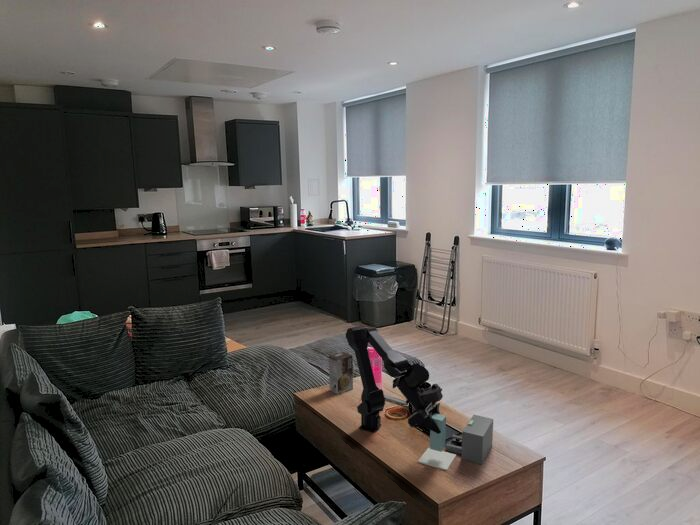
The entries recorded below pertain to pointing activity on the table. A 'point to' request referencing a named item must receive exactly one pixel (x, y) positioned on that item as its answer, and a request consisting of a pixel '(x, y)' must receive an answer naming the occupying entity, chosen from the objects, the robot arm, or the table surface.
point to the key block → (439, 439)
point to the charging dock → (474, 440)
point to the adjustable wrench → (395, 400)
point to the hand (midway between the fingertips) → (441, 430)
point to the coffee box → (340, 372)
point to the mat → (437, 459)
